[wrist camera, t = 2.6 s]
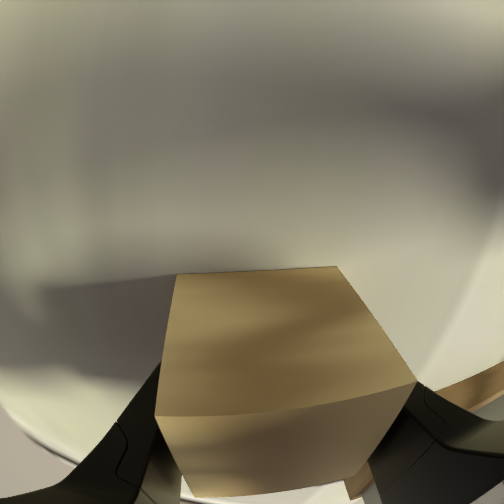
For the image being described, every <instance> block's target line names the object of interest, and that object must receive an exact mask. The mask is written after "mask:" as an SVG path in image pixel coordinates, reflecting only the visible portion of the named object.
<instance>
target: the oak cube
mask: <svg viewBox="0 0 504 504" xmlns="http://www.w3.org/2000/svg"><path fill="white" fill-rule="evenodd" d="M416 383H417V379H416V378H415V376H414V375H413V373H412V372H411V370H410V369H409V367H408V366H407V364H406V363H405V361H404V360H403V358H402V357H401V355H400V354H399V352H398V351H397V349H396V348H395V346H394V345H393V343H392V342H391V340H390V339H389V338H388V336H387V335H386V333H385V332H384V330H383V329H382V328H381V326H380V325H379V323H378V322H377V320H376V319H375V318H374V316H373V315H372V313H371V312H370V311H369V309H368V308H367V306H366V305H365V304H364V302H363V301H362V300H361V298H360V297H359V295H358V294H357V293H356V291H355V290H354V289H353V287H352V286H351V285H350V283H349V282H348V281H347V279H346V278H345V277H344V275H343V274H342V273H341V271H340V270H339V269H338V267H337V266H336V267H320V268H303V269H285V270H265V271H245V272H223V273H199V274H177V277H176V282H175V287H174V292H173V297H172V303H171V308H170V314H169V319H168V325H167V331H166V337H165V343H164V349H163V356H162V362H161V369H160V376H159V384H158V391H157V399H156V407H155V418H156V421H157V423H158V425H159V428H160V430H161V432H162V434H163V437H164V439H165V441H166V443H167V445H168V447H169V449H170V451H171V454H172V456H173V458H174V460H175V462H176V464H177V466H178V468H179V470H180V471H181V473H182V475H183V477H184V479H185V481H186V483H187V485H188V486H189V488H190V490H191V492H192V494H193V495H194V497H233V496H247V495H258V494H267V493H275V492H282V491H288V490H294V489H300V488H305V487H311V486H315V485H320V484H325V483H329V482H333V481H337V480H341V479H345V478H349V477H352V476H355V475H356V474H357V472H358V471H359V470H360V468H361V467H362V466H363V465H364V463H365V462H366V461H367V459H368V458H369V457H370V455H371V454H372V453H373V451H374V450H375V448H376V447H377V446H378V444H379V443H380V441H381V440H382V438H383V437H384V436H385V434H386V433H387V431H388V430H389V428H390V427H391V425H392V423H393V422H394V420H395V419H396V417H397V416H398V414H399V412H400V411H401V409H402V407H403V406H404V404H405V402H406V401H407V399H408V397H409V395H410V394H411V392H412V390H413V388H414V387H415V385H416Z"/></svg>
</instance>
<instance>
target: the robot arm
mask: <svg viewBox="0 0 504 504" xmlns="http://www.w3.org/2000/svg"><path fill="white" fill-rule="evenodd" d="M161 362H162V360H161ZM161 362H160V363H159V364H158V366H157V367H156V368H155V370H154V371H153V372H152V374H151V375H150V376H149V378H148V379H147V380H146V382H145V383H144V384H143V386H142V387H141V388H140V390H139V391H138V392H137V394H136V395H135V396H134V398H133V399H132V400H131V402H130V403H129V405H128V406H127V407H126V409H125V410H124V411H123V413H122V414H121V415H120V417H119V418H118V419H117V422H118V423H117V422H115V423H114V425H113V426H112V427H111V429H110V430H109V431H108V433H107V434H106V435H105V436H104V438H103V439H102V440H101V441H100V442H99V444H98V445H97V446H96V447H95V448H94V449H93V450H92V451H91V452H90V453H89V454H88V455H87V456H86V457H85V459H84V460H83V461H82V462H81V463H80V464H79V465H78V466H77V467H76V468H75V469H74V470H73V471H72V472H71V473H70V474H69V475H68V476H67V477H66V478H64V479H63V480H62V481H61V482H59V483H57V484H55V485H53V486H51V487H47V488H44V489H40V490H37V491H33V492H29V493H25V494H21V495H16V496H12V497H8V498H0V504H180V492H181V478H182V473H181V471H180V470H179V468H178V466H177V464H176V462H175V460H174V458H173V456H172V454H171V451H170V449H169V447H168V445H167V443H166V441H165V439H164V437H163V434H162V432H161V430H160V428H159V425H158V423H157V421H156V418H155V407H156V399H157V391H158V384H159V376H160V369H161ZM367 462H368V465H369V467H370V470H371V473H372V476H373V479H374V481H375V484H376V487H377V490H378V493H379V495H380V499H381V502H382V504H504V420H500V421H493V420H487V419H484V418H481V417H479V416H477V415H475V414H473V413H471V412H469V411H467V410H465V409H464V408H462V407H460V406H458V405H456V404H454V403H452V402H450V401H449V400H447V399H445V398H443V397H442V396H440V395H438V394H437V393H435V392H434V391H432V390H431V389H429V388H428V387H426V386H424V385H423V384H421V383H420V382H418V381H417V383H416V385H415V387H414V388H413V390H412V392H411V394H410V395H409V397H408V399H407V401H406V402H405V404H404V406H403V407H402V409H401V411H400V412H399V414H398V416H397V417H396V419H395V420H394V422H393V423H392V425H391V427H390V428H389V430H388V431H387V433H386V434H385V436H384V437H383V438H382V440H381V441H380V443H379V444H378V446H377V447H376V448H375V450H374V451H373V453H372V454H371V455H370V457H369V458H368V459H367Z"/></svg>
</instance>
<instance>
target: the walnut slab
mask: <svg viewBox="0 0 504 504" xmlns="http://www.w3.org/2000/svg"><path fill="white" fill-rule="evenodd" d="M435 393H437V394H438V395H440V396H442V397H443V398H445V399H447V400H449V401H450V402H452V403H454V404H456V405H458V406H460V407H462V408H464V409H465V410H467V411H469V412H471V413H472V412H474V411H476V410H478V409H480V408H481V407H483V406H485V405H487V404H488V403H490V402H492V401H494V400H495V399H497V398H498V397H500V396H502V395H503V394H504V361H503V362H501V363H499V364H497V365H495V366H493V367H491V368H489V369H487V370H485V371H483V372H481V373H479V374H477V375H474V376H472V377H470V378H468V379H465V380H463V381H461V382H458V383H456V384H453V385H451V386H449V387H446V388H444V389H441V390H438V391H436V392H435ZM343 480H344V483H345V486H346V489H347V492H348V495H349V498H350V501H351V500H354V499H357V498H361V497H362V494H363V493H364V492H365V491H366V490H367V489H368V488H369V487H370V486H371V485H372V484H373V483H374V482H375V481H374V479H373V476H372V473H371V470H370V467H369V465H368V462H367V461H366V462H365V463H364V465H363V466H362V467H361V468H360V470H359V471H358V472H357V474H356V475H355V476H352V477H349V478H345V479H343Z"/></svg>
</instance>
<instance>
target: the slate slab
mask: <svg viewBox="0 0 504 504" xmlns="http://www.w3.org/2000/svg"><path fill="white" fill-rule="evenodd" d="M472 413H473V414H475V415H477V416H479V417H481V418H484V419H487V420H493V421H500V420H504V394H503V395H502V396H500V397H498V398H497V399H495V400H494V401H492V402H490V403H488V404H487V405H485V406H483V407H481V408H480V409H478V410H476V411H474V412H472ZM362 498H363V500H364V503H365V504H382V502H381V499H380V495H379V493H378V490H377V487H376V484H375V482H374V483H373V484H372V485H371V486H370V487H369V488H368V489H367V490H366V491H365V492H364V493H363V494H362Z"/></svg>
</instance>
